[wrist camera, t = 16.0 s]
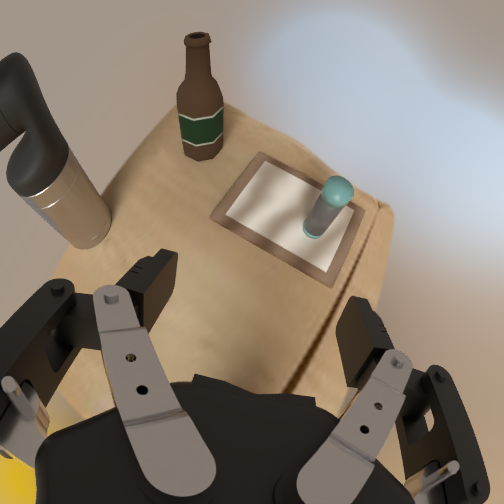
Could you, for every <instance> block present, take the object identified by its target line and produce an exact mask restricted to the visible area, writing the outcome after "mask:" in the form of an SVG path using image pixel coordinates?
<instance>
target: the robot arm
mask: <svg viewBox="0 0 504 504" xmlns="http://www.w3.org/2000/svg"><path fill="white" fill-rule="evenodd" d="M25 131H26V132H25ZM23 132H25V134H24V136H23V138H22V139H21V141H20V142H19V144H18V145H17V147H16V148H15V150H14V151H13V153H12V155H11V157H10V160H9V162H8V165H7V171H6V175H7V181H8V183H9V185H10V186H11V187H12V189H13V190H14V191H15V192H16V193H17V194H18V195H19V196H20V197H21V198H22V199H23V200H24V201H25V202H26V203H27V204H28V205H29V206H30V207H31V208H32V209H34V210H35V211H36V212H37V213H38V214H39V215H40V216H41V217H42V218H43V219H44V220H45V221H46V222H47V223H48V224H49V225H50V226H52V227H53V228H54V229H55V230H56V231H57V232H58V233H59V234H60V235H62V236H63V237H64V238H65V239H66V240H67V241H68V242H70V243H71V244H72V245H73V246H74V247H76V248H79V249H88V248H91V247H93V246H95V245H97V244H98V243H99V242H101V241H102V240H103V238H104V237H105V236H106V234H107V233H108V230H109V228H110V224H111V213H110V211H109V208H108V207H107V205H106V204H105V203H104V201H103V200H102V198H101V196H100V195H99V194H98V192H97V190H96V189H95V187H94V186H93V184H92V183H91V181H90V180H89V178H88V176H87V175H86V173H85V172H84V170H83V169H82V167H81V165H80V164H79V162H78V160H77V159H76V157H75V156H74V154H73V152H72V151H71V149H70V147H69V146H68V144H67V142H66V140H65V139H64V137H63V135H62V134H61V132H60V130H59V128H58V126H57V125H56V123H55V121H54V119H53V117H52V116H51V113H50V111H49V109H48V107H47V105H46V102H45V100H44V98H43V95H42V92H41V90H40V87H39V85H38V82H37V79H36V77H35V75H34V72H33V70H32V68H31V66H30V64H29V62H28V60H27V59H26V58H25V57H24V56H23V55H22V54H20V53H17V52H15V53H11V54H10V55H8V56H7V57H5V58H4V59H2V60H1V61H0V151H1V150H3V149H4V148H5V147H6V146H7V145H8V144H10V143H11V142H12V141H13V140H15V139H16V138H17V137H18V136H19V135H21V134H22V133H23ZM177 261H178V253H177V252H174V251H170V250H166V249H160V250H159V251H158V252H157V254H156V255H155V256H154V257H150V256H147V257H144V258H142V259H140V260H138V261H137V262H136V263H135V265H134V266H133V267H132V268H131V269H130V270H129V271H128V272H127V273H126V274H125V275H124V276H123V277H122V278H121V279H120V280H119V281H118V282H117V283H116V284H115V285H105V286H102V287H100V288H98V289H97V290H96V291H95V292H94V294H93V295H92V294H82V293H75V288H74V285H73V283H72V282H71V281H69V280H67V279H60V278H59V279H53V280H50V281H48V282H46V283H45V284H44V285H43V286H42V287H41V288H40V289H39V290H37V291H36V293H34V294H33V295H32V296H31V297H30V298H29V299H28V300H27V301H26V302H25V303H24V304H23V305H22V306H21V307H20V308H19V309H18V310H17V311H16V312H15V313H14V314H13V315H12V316H11V317H10V319H9V320H8V321H7V322H6V323H5V324H4V325H3V326H2V327H1V328H0V454H1V455H2V456H3V457H5V458H9V459H15V460H17V461H18V462H20V463H21V464H23V465H24V466H26V467H27V468H29V469H30V470H32V471H33V472H35V475H36V486H37V493H36V494H37V495H36V504H483V503H484V502H485V501H486V500H487V499H488V497H489V494H490V484H489V480H488V476H487V472H486V468H485V465H484V461H483V458H482V455H481V452H480V449H479V445H478V443H477V439H476V437H475V434H474V431H473V428H472V426H471V423H470V420H469V418H468V415H467V412H466V410H465V407H464V405H463V403H462V400H461V398H460V396H459V394H458V391H457V389H456V386H455V384H454V382H453V380H452V377H451V376H450V374H449V373H448V372H447V371H446V370H445V369H444V368H443V367H441V366H438V365H431V366H430V367H429V368H428V370H427V371H426V372H422V371H419V370H416V369H413V365H412V362H411V360H410V359H409V357H408V356H406V355H405V354H404V353H402V352H401V351H398V350H395V348H394V346H393V344H392V342H391V339H390V337H389V335H388V333H387V331H386V328H385V327H384V324H383V322H382V320H381V318H380V317H379V316H378V315H377V314H376V312H375V311H373V310H372V308H371V306H370V304H369V302H368V300H367V299H365V298H360V297H356V296H351V297H350V298H349V300H348V302H347V304H346V306H345V308H344V310H343V313H342V315H341V317H340V319H339V321H338V323H337V326H336V338H337V342H338V347H339V351H340V355H341V360H342V364H343V369H344V374H345V379H346V384H347V387H353V388H358V391H357V392H356V394H355V395H354V397H353V398H352V399H351V401H350V402H349V403H348V405H347V406H346V407H345V409H344V410H343V411H342V413H341V414H340V415H339V417H338V418H337V417H335V416H334V415H332V414H331V413H329V412H328V411H326V410H324V409H322V408H319V407H317V406H316V402H315V397H309V396H302V395H295V394H288V393H284V394H254V393H251V392H249V391H246V390H244V389H242V388H239V387H237V386H235V385H232V384H230V383H228V382H226V381H222V380H218V379H214V378H210V377H206V376H202V375H198V374H194V377H193V380H192V382H173V383H169V381H168V379H167V377H166V375H165V373H164V370H163V368H162V366H161V364H160V361H159V359H158V357H157V354H156V352H155V349H154V347H153V345H152V342H151V340H150V337H149V335H148V334H149V332H150V330H151V329H152V327H153V325H154V324H155V322H156V320H157V318H158V317H159V315H160V313H161V312H162V310H163V308H164V307H165V305H166V303H167V302H168V300H169V298H170V297H171V295H172V292H173V289H174V285H175V278H176V269H177ZM82 348H87V349H95V350H101V355H102V359H103V364H104V368H105V372H106V376H107V380H108V384H109V388H110V391H111V395H112V399H113V402H114V406H115V407H114V408H112V409H110V410H107V411H105V412H103V413H100V414H98V415H96V416H93V417H91V418H89V419H86V420H84V421H81V422H79V423H77V424H74V425H72V426H69V427H66V428H64V429H61V430H59V431H56V432H55V433H53V434H51V435H50V436H48V437H47V429H48V426H49V422H50V420H49V414H48V412H47V410H46V406H47V404H48V403H49V401H50V399H51V397H52V396H53V394H54V392H55V390H56V389H57V387H58V385H59V384H60V382H61V380H62V379H63V377H64V375H65V374H66V372H67V371H68V369H69V367H70V366H71V364H72V363H73V361H74V359H75V358H76V356H77V355H78V353H79V352H80V350H81V349H82ZM430 409H431V411H432V414H433V417H434V425H433V428H432V429H431V431H430V432H429V431H428V428H427V424H426V420H425V417H424V415H425V414H426V413H427V412H428V411H429V410H430ZM394 422H395V424H396V428H397V434H398V439H399V444H400V449H401V455H402V460H403V466H404V473H405V480H406V482H405V484H404V486H403V485H402V484H401V483H400V482H399V481H398V480H397V479H396V478H395V477H394V476H393V475H392V474H391V473H390V472H389V471H388V470H387V469H386V468H385V467H384V466H383V465H382V464H381V463H380V462H379V461H378V460H377V459H376V457H377V456H378V454H379V452H380V450H381V448H382V446H383V444H384V442H385V441H386V439H387V437H388V435H389V433H390V431H391V429H392V427H393V425H394Z"/></svg>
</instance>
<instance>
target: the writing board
mask: <svg viewBox="0 0 504 504" xmlns="http://www.w3.org/2000/svg"><path fill="white" fill-rule="evenodd" d="M323 187H324V186H323V185H321V184H319V183H317V182H316V181H314V180H312V179H310V178H308V177H307V176H305V175H303V174H301V173H299V172H297V171H296V170H294V169H292V168H290V167H288V166H286V165H284V164H282V163H280V162H278V161H276V160H274V159H272V158H270V157H268V156H266V155H264V154H262V153H260V152H259V153H258V154H257V156H256V157H255V158H254V159H253V161H252V162H251V163H250V164H249V166H248V167H247V168H246V169H245V171H244V172H243V173H242V174H241V176H240V177H239V178H238V180H237V181H236V182H235V183H234V185H233V186H232V187H231V189H230V190H229V191H228V193H227V194H226V195H225V196H224V198H223V199H222V200H221V202H220V203H219V204H218V206H217V207H216V208H215V210H214V211H213V212H212V214H211V215H210V219H211V220H213V221H214V222H216V223H218V224H220V225H221V226H223V227H225V228H227V229H228V230H230V231H232V232H234V233H235V234H237V235H239V236H241V237H242V238H244V239H246V240H248V241H249V242H251V243H253V244H255V245H256V246H258V247H260V248H262V249H263V250H265V251H267V252H268V253H270V254H272V255H274V256H275V257H277V258H279V259H281V260H282V261H284V262H286V263H288V264H289V265H291V266H293V267H294V268H296V269H298V270H300V271H301V272H303V273H305V274H307V275H308V276H310V277H312V278H313V279H315V280H317V281H319V282H320V283H322V284H324V285H325V286H327V287H329V288H332V287H333V285H334V283H335V281H336V279H337V277H338V275H339V272H340V270H341V268H342V266H343V263H344V261H345V259H346V257H347V254H348V252H349V250H350V247H351V245H352V243H353V240H354V238H355V235H356V233H357V231H358V228H359V226H360V223H361V221H362V218H363V216H364V213H365V210H363V209H362V208H360V207H358V206H357V205H355V204H353V203H352V202H350V201H349V202H348V204H347V205H346V206H345V207H344V208H343V209H342V210H341V212H340V213H339V214H338V216H337V217H336V218H335V219H334V221H333V222H332V223H331V225H330V226H329V227H328V229H327V230H326V231H325V232H324V234H323V235H322V236H321V237H320V238H318V239H312V238H309V237H308V236H306V235H305V233H304V232H303V223H304V221H305V220H306V218H307V216H308V214H309V213H310V211H311V209H312V208H313V206H314V204H315V202H316V201H317V199H318V197H319V195H320V194H321V191H322V189H323Z"/></svg>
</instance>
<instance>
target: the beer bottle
mask: <svg viewBox="0 0 504 504" xmlns="http://www.w3.org/2000/svg"><path fill="white" fill-rule="evenodd" d="M210 42H211V39H210V36H209V34H208V33H204V32H195V33H190V34H188V35H187V36H185V39H184V44H185V46H186V74H185V80H184V81H183V82H182V84H181V85H180V86H179V88H178V91H177V108H178V116H179V123H180V130H181V137H182V143H183V148H184V153H185V155H186V156H188V157H190V158H192V159H194V160H196V161H203V160H208V159H213V158H214V157H215V156H216V154H217V153H218V152H219V151H220V150H221V149H222V144H223V109H224V105H223V96H222V93H221V91H220V88H219V86H218V83H217V81H216V80H215V79H214V78H213V77H212V75H211V66H210V51H209V43H210Z"/></svg>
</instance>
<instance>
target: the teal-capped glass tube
mask: <svg viewBox="0 0 504 504" xmlns="http://www.w3.org/2000/svg"><path fill="white" fill-rule="evenodd" d="M353 195H354V189H353V187H352V185H351V183H350V182H349V181H348V180H347V179H345V178H343V177H340V176H332V177H330V178H329V179H328V180H327V181H326V183H325V185H324V187H323V189H322V191H321V194H320V195H319V197H318V199H317V201H316V202H315V204H314V206H313V208H312V209H311V211H310V213H309V214H308V216H307V218H306V220H305V221H304V223H303V232H304V233H305V235H306V236H308V237H309V238H312V239H318V238H320V237H321V236H322V235H323V234H324V232H325V231H326V230H327V229H328V227H329V226H330V225H331V223H332V222H333V221H334V219H335V218H336V217H337V216H338V214H339V213H340V212H341V210H342V209H343V208H344V207H345V206H346V205H347V204H348V202H349V201H350V200H351V198H352V197H353Z"/></svg>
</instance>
